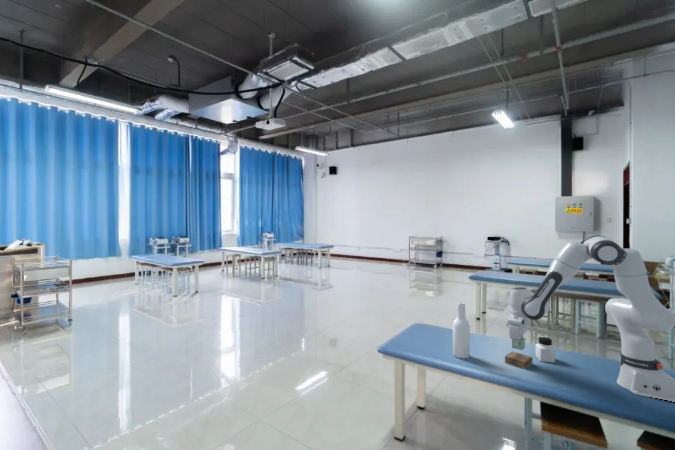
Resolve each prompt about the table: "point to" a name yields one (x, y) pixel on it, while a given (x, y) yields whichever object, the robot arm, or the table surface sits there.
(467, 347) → the alcohol
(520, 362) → the walnut block
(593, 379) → the table surface
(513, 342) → the sage green block
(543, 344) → the medicine bottle
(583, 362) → the table surface
